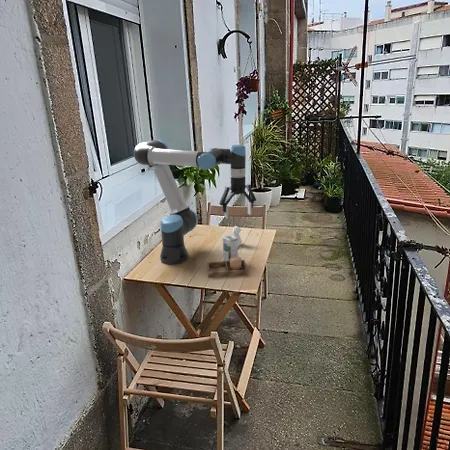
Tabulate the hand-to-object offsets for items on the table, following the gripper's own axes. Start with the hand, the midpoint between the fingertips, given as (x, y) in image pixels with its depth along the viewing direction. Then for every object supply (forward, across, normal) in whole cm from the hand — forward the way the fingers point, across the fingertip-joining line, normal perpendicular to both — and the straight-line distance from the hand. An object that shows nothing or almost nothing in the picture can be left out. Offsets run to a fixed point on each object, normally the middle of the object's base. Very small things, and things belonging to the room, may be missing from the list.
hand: (238, 216), depth 198 cm
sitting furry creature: (+24, +6, +16) cm, 29 cm away
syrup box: (+24, -7, -5) cm, 25 cm away
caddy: (+24, -13, -14) cm, 31 cm away
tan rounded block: (+22, -9, -16) cm, 29 cm away
